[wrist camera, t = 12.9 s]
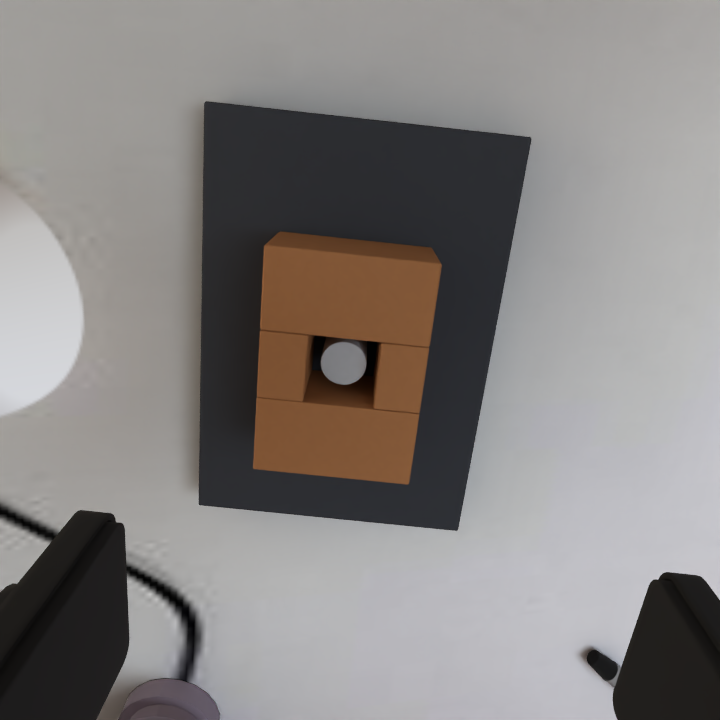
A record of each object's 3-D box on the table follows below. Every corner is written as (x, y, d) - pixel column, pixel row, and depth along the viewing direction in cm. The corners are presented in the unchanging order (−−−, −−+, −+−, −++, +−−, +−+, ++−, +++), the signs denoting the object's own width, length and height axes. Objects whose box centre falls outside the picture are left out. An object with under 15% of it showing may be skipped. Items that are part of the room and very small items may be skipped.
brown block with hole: (278, 230, 27) (263, 244, 23) (432, 247, 27) (442, 263, 23) (267, 429, 30) (252, 469, 27) (404, 443, 30) (409, 485, 27)
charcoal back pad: (215, 104, 27) (182, 95, 22) (521, 138, 27) (552, 136, 23) (208, 485, 34) (181, 540, 29) (453, 510, 34) (466, 568, 29)
